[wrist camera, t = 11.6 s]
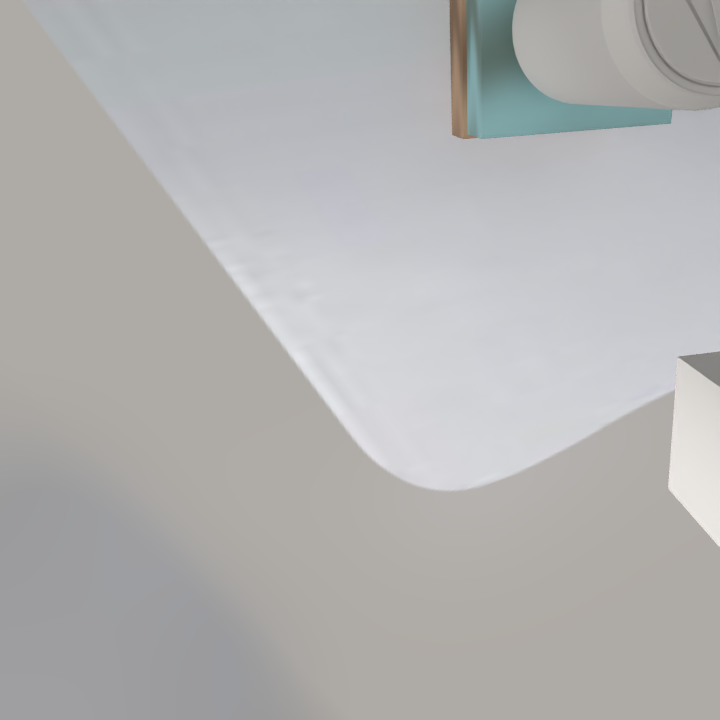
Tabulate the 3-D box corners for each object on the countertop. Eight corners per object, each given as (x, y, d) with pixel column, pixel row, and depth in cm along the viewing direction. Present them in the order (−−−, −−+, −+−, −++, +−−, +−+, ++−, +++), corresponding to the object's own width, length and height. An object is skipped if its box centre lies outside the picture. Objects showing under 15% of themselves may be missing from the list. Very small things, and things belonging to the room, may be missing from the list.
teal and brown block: (448, -55, 33) (475, -92, 26) (627, -69, 33) (699, -110, 26) (452, 135, 36) (477, 143, 30) (613, 121, 36) (674, 127, 30)
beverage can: (637, -92, 26) (856, -227, 15) (670, 69, 29) (881, 54, 17) (487, -23, 27) (593, -105, 16) (531, 128, 29) (650, 149, 18)
